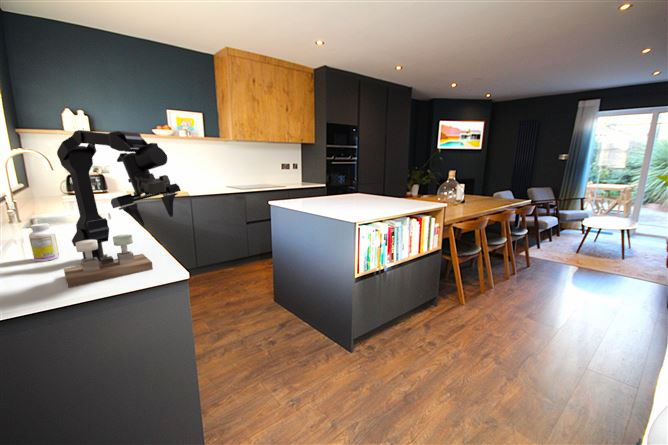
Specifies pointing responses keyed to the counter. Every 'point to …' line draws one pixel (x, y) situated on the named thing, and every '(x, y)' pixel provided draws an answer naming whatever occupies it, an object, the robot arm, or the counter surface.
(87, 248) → the knob cream
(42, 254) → the supplement bottle
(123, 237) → the knob sage
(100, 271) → the knob mount
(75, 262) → the counter surface
